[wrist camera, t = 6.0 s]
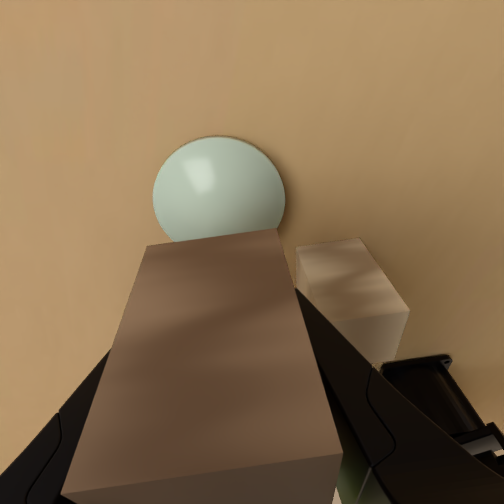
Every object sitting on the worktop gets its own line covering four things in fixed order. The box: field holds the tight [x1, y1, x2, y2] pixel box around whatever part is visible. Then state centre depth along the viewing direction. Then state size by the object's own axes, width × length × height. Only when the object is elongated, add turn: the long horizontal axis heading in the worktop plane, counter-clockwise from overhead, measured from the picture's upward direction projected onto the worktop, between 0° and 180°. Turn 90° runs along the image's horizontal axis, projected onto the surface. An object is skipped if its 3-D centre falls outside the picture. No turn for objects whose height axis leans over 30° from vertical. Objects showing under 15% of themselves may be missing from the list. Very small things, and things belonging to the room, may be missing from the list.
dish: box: [153, 135, 285, 242], centre depth 15 cm, size 7×7×1 cm
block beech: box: [296, 238, 410, 364], centre depth 17 cm, size 4×4×6 cm
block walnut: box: [61, 228, 343, 504], centre depth 8 cm, size 4×4×6 cm
